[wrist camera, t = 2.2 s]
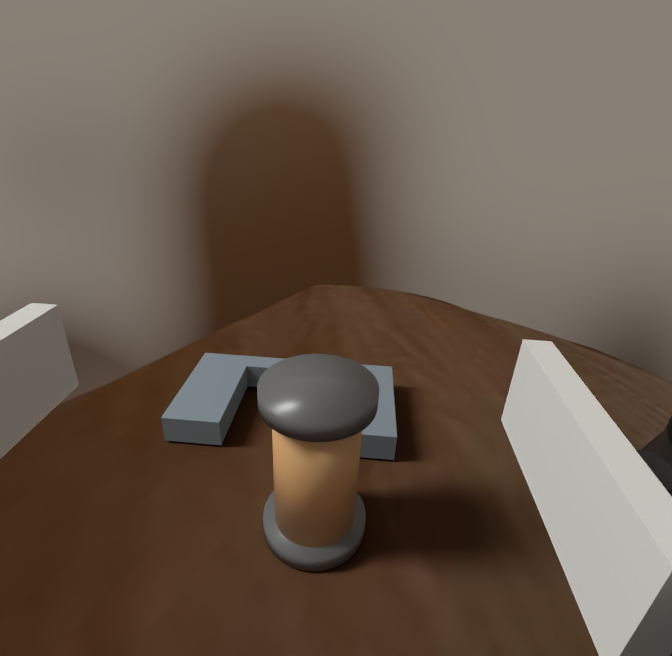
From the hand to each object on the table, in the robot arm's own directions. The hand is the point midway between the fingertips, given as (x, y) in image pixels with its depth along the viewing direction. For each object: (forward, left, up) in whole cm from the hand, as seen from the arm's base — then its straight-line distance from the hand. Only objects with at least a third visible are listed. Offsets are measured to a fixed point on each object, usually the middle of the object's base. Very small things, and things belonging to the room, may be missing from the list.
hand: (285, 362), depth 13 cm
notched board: (+4, -23, -20) cm, 31 cm away
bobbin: (0, -11, -20) cm, 23 cm away
